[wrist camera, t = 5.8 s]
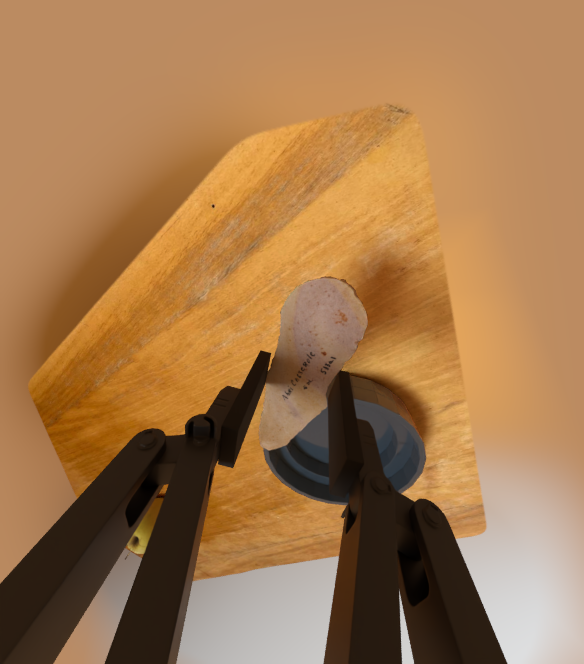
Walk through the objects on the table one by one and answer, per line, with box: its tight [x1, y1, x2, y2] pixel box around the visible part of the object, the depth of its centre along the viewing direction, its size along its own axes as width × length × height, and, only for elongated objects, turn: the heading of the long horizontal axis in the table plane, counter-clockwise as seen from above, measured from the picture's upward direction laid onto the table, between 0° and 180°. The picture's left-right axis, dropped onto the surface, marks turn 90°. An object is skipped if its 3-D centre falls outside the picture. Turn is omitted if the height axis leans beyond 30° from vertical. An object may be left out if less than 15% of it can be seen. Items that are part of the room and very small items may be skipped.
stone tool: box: [259, 277, 368, 450], centre depth 15 cm, size 5×2×15 cm
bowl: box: [263, 375, 426, 505], centre depth 31 cm, size 20×20×5 cm
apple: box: [127, 497, 164, 554], centre depth 45 cm, size 8×8×10 cm
